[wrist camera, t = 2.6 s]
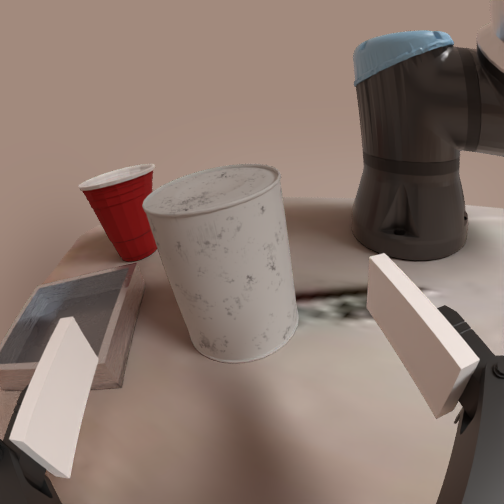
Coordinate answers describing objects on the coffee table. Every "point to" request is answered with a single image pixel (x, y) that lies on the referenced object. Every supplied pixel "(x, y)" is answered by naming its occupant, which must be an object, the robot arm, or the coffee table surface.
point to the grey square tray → (87, 317)
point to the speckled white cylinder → (228, 259)
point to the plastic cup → (123, 209)
